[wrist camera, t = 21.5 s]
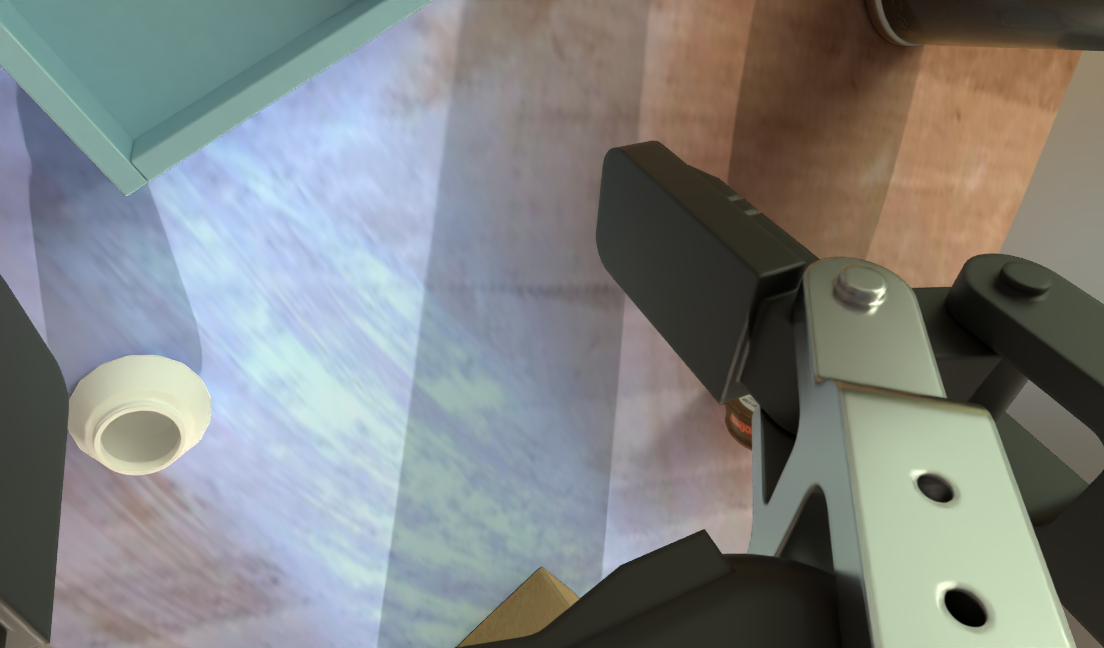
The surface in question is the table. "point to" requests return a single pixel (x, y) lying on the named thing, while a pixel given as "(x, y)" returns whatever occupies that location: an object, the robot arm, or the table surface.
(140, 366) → the cream truncated cone
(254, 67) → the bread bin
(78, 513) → the table surface
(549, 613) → the sandwich container
